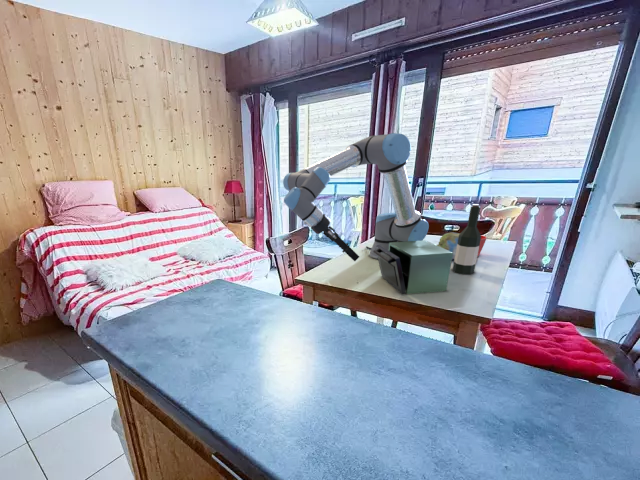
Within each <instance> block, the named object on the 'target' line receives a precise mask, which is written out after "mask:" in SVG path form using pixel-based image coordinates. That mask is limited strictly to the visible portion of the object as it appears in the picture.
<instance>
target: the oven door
mask: <svg viewBox="0 0 640 480" xmlns="http://www.w3.org/2000/svg"><path fill="white" fill-rule="evenodd" d="M375 247H376V250H374V251H373V253H375V254H376V255H377V256H378V259H377V260H378V266H379V270H380V274H381V278H383V280H385V281H386V283H388V284H389V285H391V286H392V287H393V288H394V289H395V290H396V291H398V292H399V293H400V294H401V295H405V294H407V293H406V290H405V284H404V279H403V273H402V268H401V263H400V258H399V257H398V256H396V255H394V254H393V253H391V252H390V251H388V250H386V249H385V248H383V247H382V246H380V245H376V246H375Z"/></svg>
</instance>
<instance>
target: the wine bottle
mask: <svg viewBox="0 0 640 480" xmlns="http://www.w3.org/2000/svg"><path fill="white" fill-rule="evenodd" d="M469 209H470V210H469V214H468V215H469V216H468V220H467V225H466V227H464V229H463V230H462V231H461V232H460V233H459V238H458V243H457V249H456V254H455V259H453V266H452V271H453V272H454V273H456V274H460V275H472V274H474V273H475V269H476V264H477V259H478V256H477V255H478V250H479V245H480V241H481V235H482V234H481V233H480V231H479V228H478V227H477V226H478V221H479V216H480V212H481V205H480V204H478V203H473V204H472V206H470V208H469Z"/></svg>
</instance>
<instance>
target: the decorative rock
mask: <svg viewBox="0 0 640 480" xmlns="http://www.w3.org/2000/svg"><path fill="white" fill-rule="evenodd" d="M459 234H460V233H458V232H447V233H444V234H443V235H442V236H441V237H440V238H439V241H438V242H437V243H438V244H436V245H437V246H439V247H441V248H444V249H446V250H448V251H450V252H452V253H453V255H452V260H455V254H456V249H457V243H458V238H459Z"/></svg>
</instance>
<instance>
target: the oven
mask: <svg viewBox="0 0 640 480" xmlns="http://www.w3.org/2000/svg"><path fill="white" fill-rule="evenodd" d="M437 245H438V244H434V243H432V242H430V241H428V240H426V239H423V240H421V241H406V242H391V243H389V251H390V252H391V253H393V254H394V255H396V256H398V257H399V258H400V263H401V268H402V273H403V279H404V284H405V290H406V293H405V294H406V295H410V294H411V295H412V294H425V293H436V292H447V288H448V281H449V278H450V277H449V276H450V271H451V266H452V260H453V259H452V255H453V253H452V252H450V251H448V250H446V249H444V248H441V247H439V246H437Z"/></svg>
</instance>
